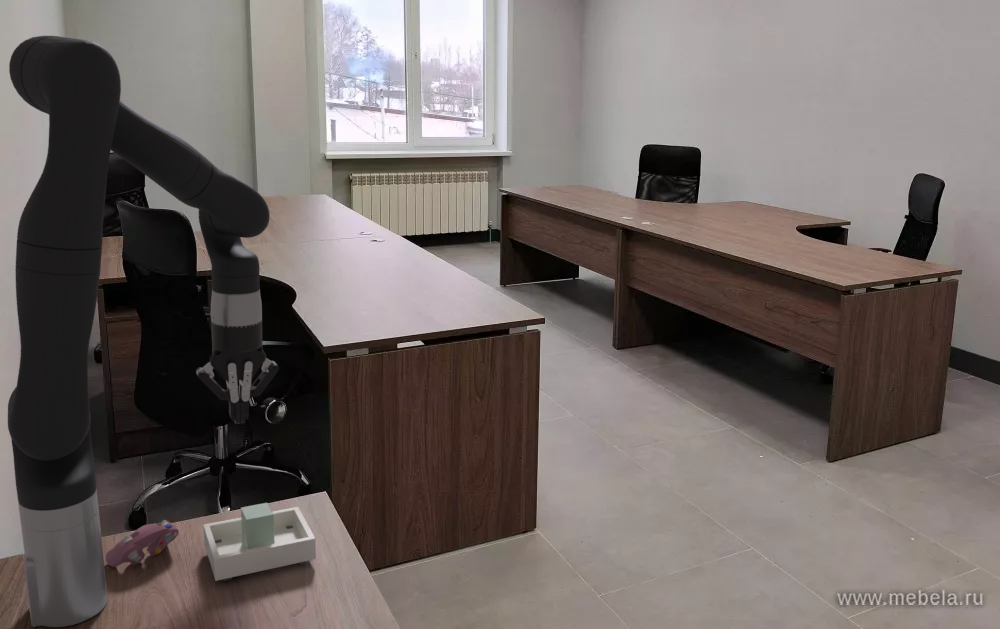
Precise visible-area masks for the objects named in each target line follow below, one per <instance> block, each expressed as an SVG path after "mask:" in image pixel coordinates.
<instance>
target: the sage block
mask: <svg viewBox="0 0 1000 629" xmlns="http://www.w3.org/2000/svg"><path fill="white" fill-rule="evenodd" d="M240 518H241V522H242V543H243V545H244V548H245V550H248V549H253V548H257V547H262V546H267V545H272V544H275V543H274V514H273V510H272V509H271V507H270V505H269V503H268V502H264V503H258V504H253V505H252V504H251V505H248V506H244V507H240Z"/></svg>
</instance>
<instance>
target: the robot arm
mask: <svg viewBox="0 0 1000 629" xmlns="http://www.w3.org/2000/svg"><path fill="white" fill-rule="evenodd" d="M8 63H9V64H8V66H9V67H8V68H9V70H8V71H9V72H8V73H9V78H10V80H11V83H12V86H13V88H14V90H16V93H17V94H18V95H19V96H20V98H21V99H22V100H23V101H24V102H25V103H27V104H28V105H30V106H31V107H33V108H35V109H36V110H38V111H39V112H42V113H45V114H47V115H48V116H49V118H48V122H49V123H48V124H49V125H48V143H47V144H48V147H47V154H46V155H47V156H46V159H45V164H44V167H43V170H42V172H41V175H40V177H39V179H38V181H37V183H36V185H35V186H34V188H33V190H32V192H31V193H30V196H29V198H28V200H27V202H26V204H25V206H24V207H23V210H22V213H21V215H20V218H19V222H18V225H17V226H18V228H17V233H16V246H15V247H16V252H15V269H14V270H15V295H16V296H15V299H16V311H17V319H18V328H19V338H20V339H19V340H20V357H19V358H20V359H19V368H18V375H17V382H16V387H15V388H14V389H13V391H12V392H11V393H10V397H9V399H8V404H7V430H8V433H9V435H10V436H9V437H10V439H11V447H12V454H13V466H14V467H13V468H14V479H15V487H16V495H17V503H18V513H19V519H20V528H21V536H22V543H23V544H22V545H23V550H24V555H23V556H24V559H23V569H24V576H25V585H26V593H27V594H26V595H27V600H28V601H27V602H28V609H29V611H28V612H29V617H30V618H29V619H30V623H31V625H30V626H31V627H32V626H33V627H32V628H36V626H37V627H41V626H42V627H48V628H62V627H63V628H65V627H70V626H74V625H76V624H80V623H83V622H86V621H87V620H89V619H91V618H93V617H94V616H97V615H98V614H99V613H100V612H102V610H103V609H104V608H105V607H106V605H107V602H108V594H107V592H108V591H107V590H108V589H107V583H106V582H107V581H106V571H105V560H104V551H103V541H102V540H103V539H102V532H101V531H102V530H101V520H100V510H99V501H98V500H99V498H98V489H97V487H98V486H97V476H96V467H95V461H94V460H95V457H94V451H93V445H92V444H93V443H92V434H91V421H92V418H91V417H92V414H91V410H90V408H91V407H90V396H89V378H88V377H89V376H88V375H89V371H88V365H89V364H88V361H89V360H88V358H89V348H90V347H89V346H90V340H91V335H92V329H93V325H94V319H95V314H96V308H97V301H98V294H99V293H98V292H99V283H100V278H101V277H100V276H101V269H102V268H101V266H102V253H103V252H102V251H103V234H104V233H103V231H104V230H103V229H104V226H103V225H104V214H105V207H106V206H105V204H106V195H107V194H106V192H107V181H108V170H109V169H108V168H109V163H110V156H111V152H113V153H114V154H116V156H117V155H118V156H119V157H120V158H122V160H124V161H126V162H127V163H128V164H130V165H131V166H133V167H134V168H135V169H136V170H138V171H140V172H141V173H142V174H143V175H144V176H146V177H148V178H149V179H150V180H151V181H152V182H154V183H155V184H157V185H158V186H159V187H160V188H162V189H163V190H164V191H166V192H167V193H168V194H169V195H171V196H172V197H174V198H176V199H177V200H178V201H179V202H181V203H183V204H184V205H186V206H189V207H192V208H194V209H198V221H199V222H198V223H199V226H200V231H201V234H202V237H203V240H204V245H205V249H206V251H207V255H208V258H209V261H210V263H211V301H210V311H209V315H210V318H211V319H210V320H211V344H212V345H211V347H212V348H211V350H212V351H211V354H210V355H209V358H208V361H209V362H207V363H206V364H205V365H203V367H197V368H196V370H195V374H196V375H197V378H198V379H199V380H200V381H201V382H202V383H203V385H205V386H206V387H207V388H208V389H209V390H210V391H211V392H212V393H213V394H214V395H215V396H216V397H217V398H218V399H219V400H220V401H227V402H228V414H229V417H230V419H231V421H233V422H234V424H235V425H239V424H245V423H246V420H248V419H249V417H250V400H251V399H252V398H254V397H260V396H261V394H262V393H263V392H264V390H265V389H266V388H267V387H268V385H269V384H270V382H271V381H272V380H273V379H274V377H275V376H276V375H277V373H278V372H279V370H280V367H279V365H278V363H276V361H275V360H270V359H269V358H267V354H266V352H265V351H264V348H263V307H262V306H263V304H262V303H263V302H262V297H261V289H260V288H261V287H260V285H261V284H260V280H261V279H260V277H261V276H260V261H259V257H258V256H257V254H255V253H254V252H252V251H251V250H249V249H247V248H246V247H245V246H244V244H243V241H242V239H243V238H246V239H247V238H248V239H249V238H254V237H257V236H259V235H261V234H262V233H263V232H265V230H266V229H267V227H268V225H269V223H270V210H269V207H268V203H267V202H266V200H265V199H264V198H263V196H262V195H261V194H260V193H259V192H258V191H257V190H255V188H252V187H251V186H250V185H248V184H246V183H245V182H243V181H241V180H239V179H238V178H236V177H235V176H232V175H231V174H229V173H227V172H225V171H223V170H222V169H219V168H218V166H215V164H214V163H212V162H211V161H210V160H209V159H208V158H207V157H206V156H205V155H203V154H202V153H201V152H200V151H198V150H197V149H196V148H195V147H194V146H192V145H191V144H190V143H188V142H187V141H186V140H185V139H183V138H182V137H181V136H178V135H177V134H176V133H174V132H172V131H171V130H169V129H168V128H165V126H162V125H160V124H158V123H157V122H155V121H153V120H152V119H150V118H148V117H147V116H144V115H143V114H141V113H140V112H138V111H137V110H135V109H134V108H132V107H131V106H129V105H128V104H126V103H125V102H124V101H122V100H121V92H122V90H121V89H122V87H121V85H122V84H121V83H122V81H121V74H120V70H119V67H118V65H117V61H116V60H115V59H114V57H113V55H112V54H111V53H110V51H108V50H107V49H106V48H105V47H104V46H102V45H101V44H99V43H97V42H94V41H92V40H88V39H82V38H81V39H80V38H74V37H66V36H58V35H40V36H33V37H29V38H28V39H25V40H23V41H21V43H19V44H18V45H17V46H16V48H15V49H14V50H13V52H12V54H11V55H10V60H9V62H8ZM241 238H242V239H241ZM213 369H214V370H215V371H216V372H217V374H218V375H219V376H220V377H221V378H222V379H223V380H225V382H226V388H227V389H224V387H222V386H221V385H220V384H219V383H218V382H217V381H216V380H215V378H214V377H215V373H214V372H213ZM260 369H261V372H260V374H259V375H258V376H257V378H256V379H255V380H254V381H253V382H252V379H253V378H254V377H255V375H256V374H257V373H258V371H260ZM238 381H239V382H238ZM238 383H239V386H238Z"/></svg>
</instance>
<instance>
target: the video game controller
mask: <svg viewBox="0 0 1000 629" xmlns="http://www.w3.org/2000/svg"><path fill="white" fill-rule="evenodd" d="M178 535H179V529H178V527H176V526H175V525H174V524H173V523H172V522H170V521H168V520H166V519H164V520H162V521H161V522H158V523H155V522H154V523H148V524H144V525H142V526H140V527H139V528H137V529H136V530H135V531H134V532H133V533H131V534H128V535H126V536H124V537H123V538H122V539H121V540H120V541H118V542H117V543H116V545H115V546H114V547H112V548H111V549H109V550H108V551H107V552H106V554H105V562H106V564H107V565H108V566H110V567H112V568H115V567H116V568H117V567H119V566H120V565H122V564H125V563H129V564H131V565H132V566H134V565H138V564H139V563H141V562H142V561H143V560H144V559H145V556H146V553H145V552H144V551H143V550H144V549H146V551H147V552H148V554H149V555H150V556H151V557H154V556H155V557H156V556H158V555H160V553H162V551H163V550H164V549H165V548H166V547H167V546H168V545H169V544H171V543H172V542H173V541H174V540H175V539H176V538H177V537H178Z"/></svg>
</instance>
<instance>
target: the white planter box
mask: <svg viewBox="0 0 1000 629" xmlns="http://www.w3.org/2000/svg"><path fill="white" fill-rule="evenodd" d="M272 512H273V514H274V543H275V544H272V545H267V546H262V547H257V548H253V549H248V550H245V548H244V545H243V543H242V522H241V517H236V518H232V519H231V518H230V519H225V520H222V521H215V522H210V523H205V524H203V526H202V527H203V543H204V548H205V550H206V554H207V558H208V561H209V564H210V568H211V571H212V574H213V576H214V580H215V582H216V581H222V580H223V582H226V581H231V580H232V578H234V577H239V576H244V575H248V574H253V573H257V572H262V571H267V570H272V569H276V568H281V567H285V566H289V565H294V564H298V565H304V564H307V561H313V560H316V557H317V555H316V551H317V550H316V537H315V535H314V533H313V532H312V530H311V528H310V526H309V524H308V523H307V520H306V519H305V517H304V515H303V513H302V511H301V509H300V508H299V506H296V507H295V506H294V507H290V508H285V509H280V510H279V509H278V510H272Z"/></svg>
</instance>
